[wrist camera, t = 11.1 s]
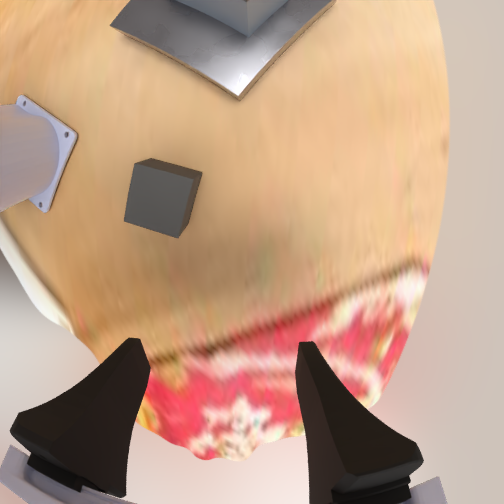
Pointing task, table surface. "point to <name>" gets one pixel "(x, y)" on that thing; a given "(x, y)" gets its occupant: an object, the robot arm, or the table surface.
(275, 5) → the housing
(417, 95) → the table surface
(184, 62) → the stand
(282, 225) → the table surface
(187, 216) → the rubber block
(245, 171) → the table surface
